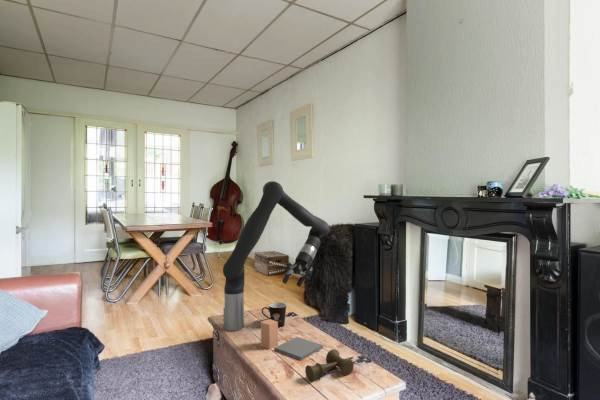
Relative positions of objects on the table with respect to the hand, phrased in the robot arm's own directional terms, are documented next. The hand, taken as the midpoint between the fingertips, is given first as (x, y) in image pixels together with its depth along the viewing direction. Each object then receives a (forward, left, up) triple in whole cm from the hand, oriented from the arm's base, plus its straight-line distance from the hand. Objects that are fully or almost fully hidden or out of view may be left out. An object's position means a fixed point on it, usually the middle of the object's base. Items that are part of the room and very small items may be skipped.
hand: (290, 284), depth 153 cm
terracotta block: (0, -14, -23) cm, 27 cm away
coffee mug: (-15, +5, -23) cm, 28 cm away
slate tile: (+12, -9, -23) cm, 28 cm away
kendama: (+33, -16, -24) cm, 44 cm away
